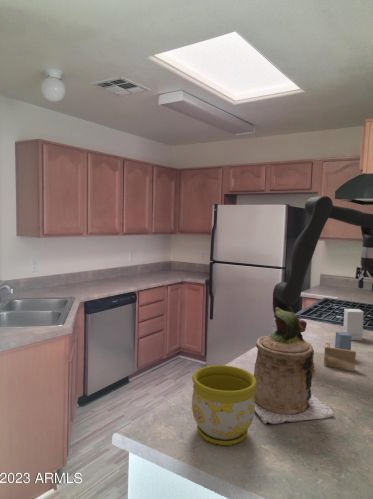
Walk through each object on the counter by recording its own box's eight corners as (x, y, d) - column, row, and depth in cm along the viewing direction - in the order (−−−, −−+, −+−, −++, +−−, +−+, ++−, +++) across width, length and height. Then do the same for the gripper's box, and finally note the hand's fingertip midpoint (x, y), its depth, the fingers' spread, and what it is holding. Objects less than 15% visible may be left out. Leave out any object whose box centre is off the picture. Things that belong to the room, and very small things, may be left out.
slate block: (339, 359, 165) (340, 335, 164) (334, 354, 170) (335, 331, 169) (350, 359, 165) (351, 335, 164) (345, 355, 170) (346, 332, 169)
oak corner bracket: (325, 357, 167) (326, 340, 166) (354, 362, 162) (355, 344, 162) (323, 365, 157) (324, 347, 156) (354, 371, 152) (355, 352, 151)
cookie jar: (265, 427, 108) (270, 321, 106) (233, 389, 132) (236, 302, 129) (336, 418, 115) (343, 317, 112) (293, 383, 139) (298, 300, 136)
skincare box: (358, 337, 198) (360, 308, 197) (362, 341, 192) (364, 311, 191) (342, 336, 199) (343, 308, 198) (346, 340, 193) (348, 311, 191)
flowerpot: (177, 431, 105) (179, 375, 104) (218, 409, 118) (220, 360, 116) (226, 462, 92) (229, 399, 91) (266, 434, 105) (269, 378, 103)
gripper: (352, 255, 183) (350, 287, 184) (374, 258, 169) (372, 293, 171) (365, 255, 185) (362, 287, 186) (387, 258, 172) (385, 292, 173)
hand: (367, 289), depth 178 cm, fingers open, 8 cm apart
